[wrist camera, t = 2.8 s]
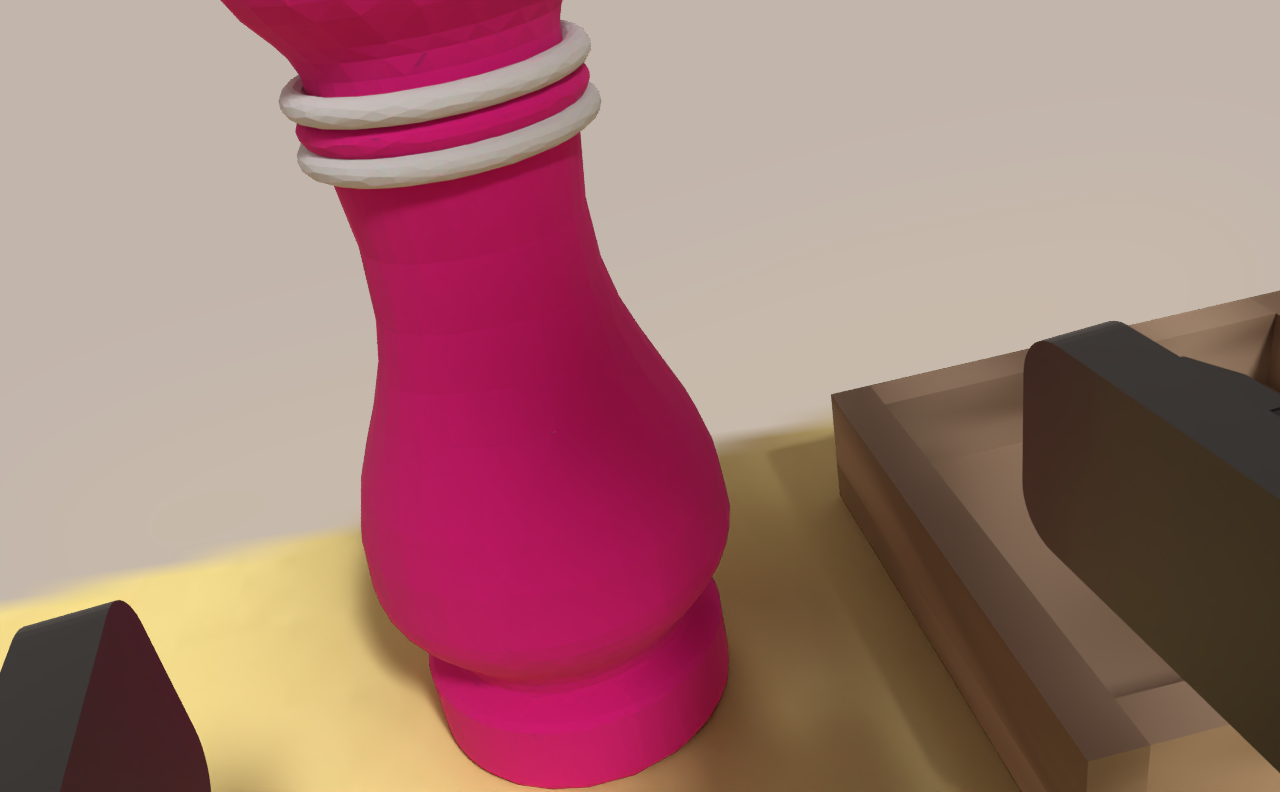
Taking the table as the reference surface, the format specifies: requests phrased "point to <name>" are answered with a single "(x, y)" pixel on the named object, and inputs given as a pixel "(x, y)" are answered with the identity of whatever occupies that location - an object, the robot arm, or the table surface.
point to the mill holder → (1036, 574)
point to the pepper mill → (510, 390)
